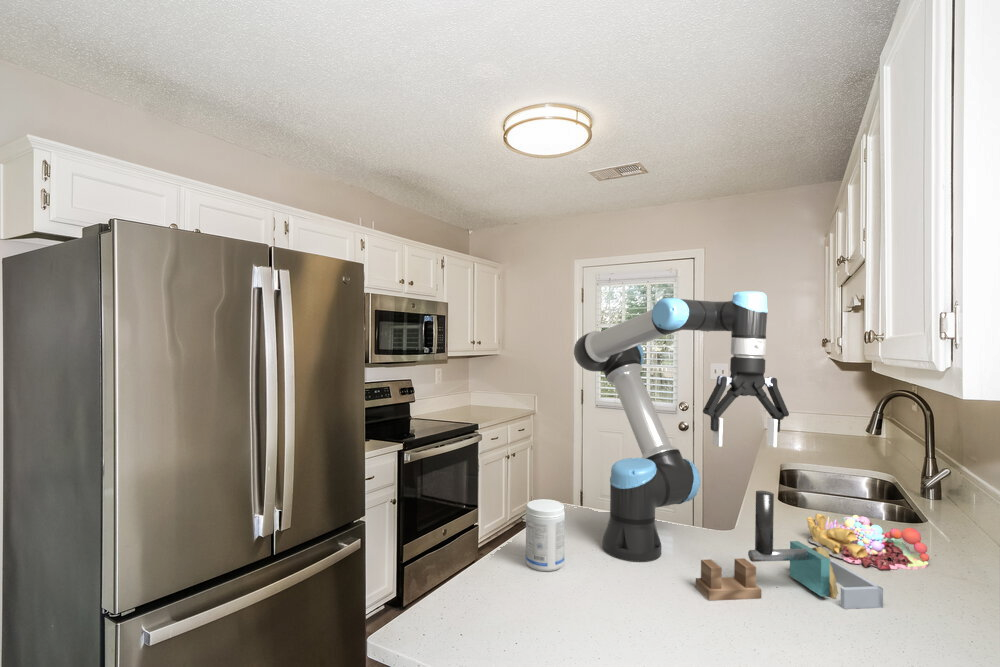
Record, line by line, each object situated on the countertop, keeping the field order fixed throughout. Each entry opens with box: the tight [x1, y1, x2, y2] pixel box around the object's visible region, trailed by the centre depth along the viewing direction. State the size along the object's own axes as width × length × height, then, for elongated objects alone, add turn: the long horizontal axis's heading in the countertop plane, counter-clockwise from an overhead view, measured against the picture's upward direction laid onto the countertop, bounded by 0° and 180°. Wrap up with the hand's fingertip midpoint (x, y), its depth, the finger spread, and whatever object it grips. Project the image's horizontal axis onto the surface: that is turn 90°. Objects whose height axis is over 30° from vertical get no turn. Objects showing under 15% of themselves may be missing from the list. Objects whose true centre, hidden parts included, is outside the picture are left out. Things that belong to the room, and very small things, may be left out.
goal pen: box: [830, 558, 884, 610], centre depth 117 cm, size 9×17×4 cm, turn 7°
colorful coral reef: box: [806, 513, 930, 571], centre depth 139 cm, size 25×24×9 cm
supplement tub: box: [525, 498, 566, 572], centre depth 127 cm, size 10×10×15 cm
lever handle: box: [747, 490, 831, 597], centre depth 116 cm, size 15×10×21 cm, turn 97°
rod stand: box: [695, 557, 762, 601], centre depth 114 cm, size 12×6×6 cm, turn 97°
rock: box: [810, 546, 839, 600], centre depth 118 cm, size 10×8×10 cm
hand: (744, 445), depth 122 cm, fingers open, 13 cm apart
